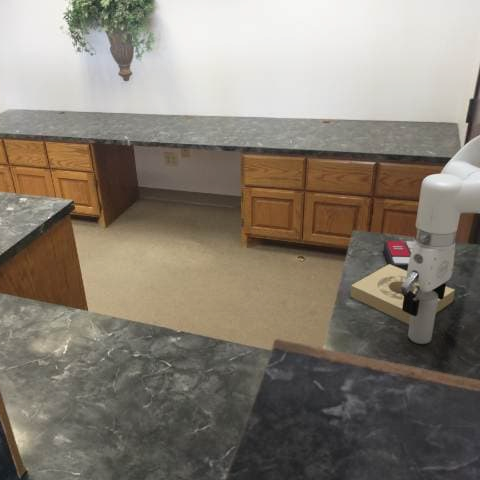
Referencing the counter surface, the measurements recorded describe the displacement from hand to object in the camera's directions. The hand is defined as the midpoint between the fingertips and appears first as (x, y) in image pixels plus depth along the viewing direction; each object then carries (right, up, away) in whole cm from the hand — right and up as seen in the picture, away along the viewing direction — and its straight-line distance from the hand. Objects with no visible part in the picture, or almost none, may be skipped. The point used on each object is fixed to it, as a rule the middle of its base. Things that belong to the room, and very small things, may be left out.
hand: (422, 304), depth 111 cm
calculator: (+13, +7, +33) cm, 37 cm away
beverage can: (+1, -8, +4) cm, 10 cm away
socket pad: (+4, -1, +18) cm, 19 cm away
